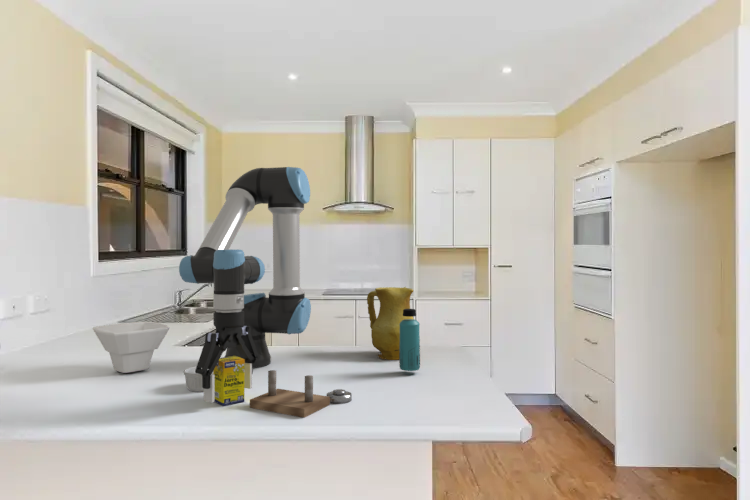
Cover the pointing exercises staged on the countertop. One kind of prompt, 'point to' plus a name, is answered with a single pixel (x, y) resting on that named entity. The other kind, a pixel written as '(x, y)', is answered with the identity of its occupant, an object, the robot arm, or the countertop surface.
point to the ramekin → (193, 380)
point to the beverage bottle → (409, 342)
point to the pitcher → (388, 319)
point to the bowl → (131, 343)
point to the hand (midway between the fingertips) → (228, 394)
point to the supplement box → (229, 380)
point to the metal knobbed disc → (339, 396)
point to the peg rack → (290, 399)
